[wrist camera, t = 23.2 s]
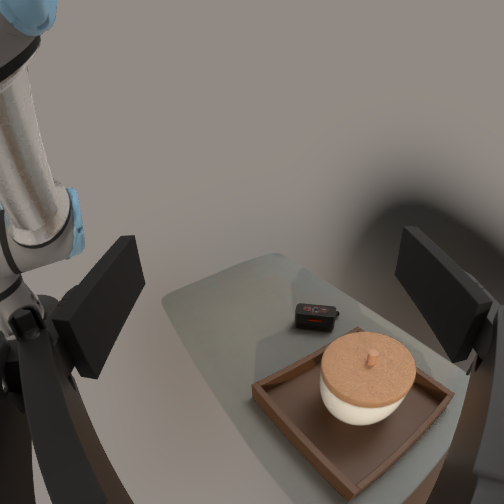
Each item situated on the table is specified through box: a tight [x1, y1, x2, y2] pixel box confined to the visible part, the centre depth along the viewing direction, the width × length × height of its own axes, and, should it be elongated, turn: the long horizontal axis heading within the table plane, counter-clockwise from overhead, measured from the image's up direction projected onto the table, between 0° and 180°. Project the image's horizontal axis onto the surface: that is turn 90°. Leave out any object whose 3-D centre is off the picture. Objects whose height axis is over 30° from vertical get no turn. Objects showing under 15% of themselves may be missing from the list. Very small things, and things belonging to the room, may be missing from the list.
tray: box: [252, 327, 454, 501], centre depth 32 cm, size 19×19×3 cm
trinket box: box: [320, 332, 416, 425], centre depth 30 cm, size 11×11×9 cm
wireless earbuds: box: [295, 303, 339, 331], centre depth 48 cm, size 5×7×3 cm, turn 75°
